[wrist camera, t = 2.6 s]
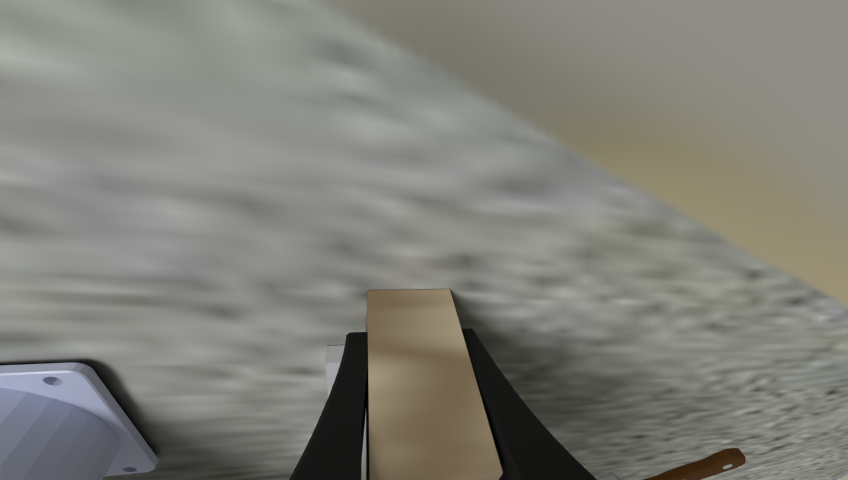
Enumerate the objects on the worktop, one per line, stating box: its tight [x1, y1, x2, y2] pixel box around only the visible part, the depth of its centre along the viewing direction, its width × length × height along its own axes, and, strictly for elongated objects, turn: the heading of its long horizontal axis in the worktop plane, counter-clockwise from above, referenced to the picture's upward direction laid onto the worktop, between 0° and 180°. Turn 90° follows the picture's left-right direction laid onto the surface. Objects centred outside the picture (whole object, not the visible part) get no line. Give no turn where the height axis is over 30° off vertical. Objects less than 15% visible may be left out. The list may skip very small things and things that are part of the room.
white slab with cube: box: [325, 289, 503, 480], centre depth 15 cm, size 6×16×6 cm, turn 173°
